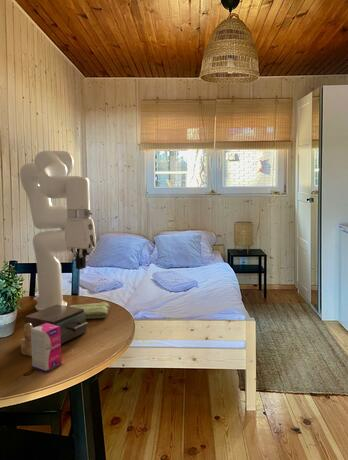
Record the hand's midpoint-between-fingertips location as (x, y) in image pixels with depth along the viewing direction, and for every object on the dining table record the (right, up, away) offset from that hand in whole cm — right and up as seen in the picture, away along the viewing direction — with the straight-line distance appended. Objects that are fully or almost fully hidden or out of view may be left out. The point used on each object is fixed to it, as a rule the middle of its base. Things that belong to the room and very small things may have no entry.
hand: (80, 268), depth 142 cm
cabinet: (-8, -23, -2) cm, 24 cm away
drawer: (-5, -22, -3) cm, 23 cm away
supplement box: (-4, -26, -24) cm, 35 cm away
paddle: (-12, -25, -15) cm, 31 cm away
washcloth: (-3, -20, +20) cm, 29 cm away
